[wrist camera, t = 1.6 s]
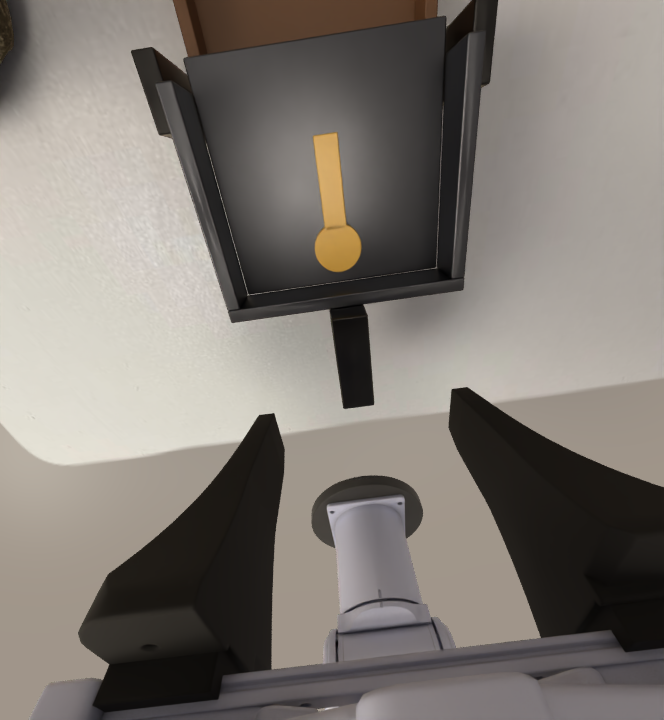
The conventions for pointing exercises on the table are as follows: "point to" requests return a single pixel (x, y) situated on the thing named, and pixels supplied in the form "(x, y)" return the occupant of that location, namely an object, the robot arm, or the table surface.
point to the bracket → (161, 69)
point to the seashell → (5, 30)
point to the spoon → (333, 209)
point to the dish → (358, 166)
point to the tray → (285, 20)
